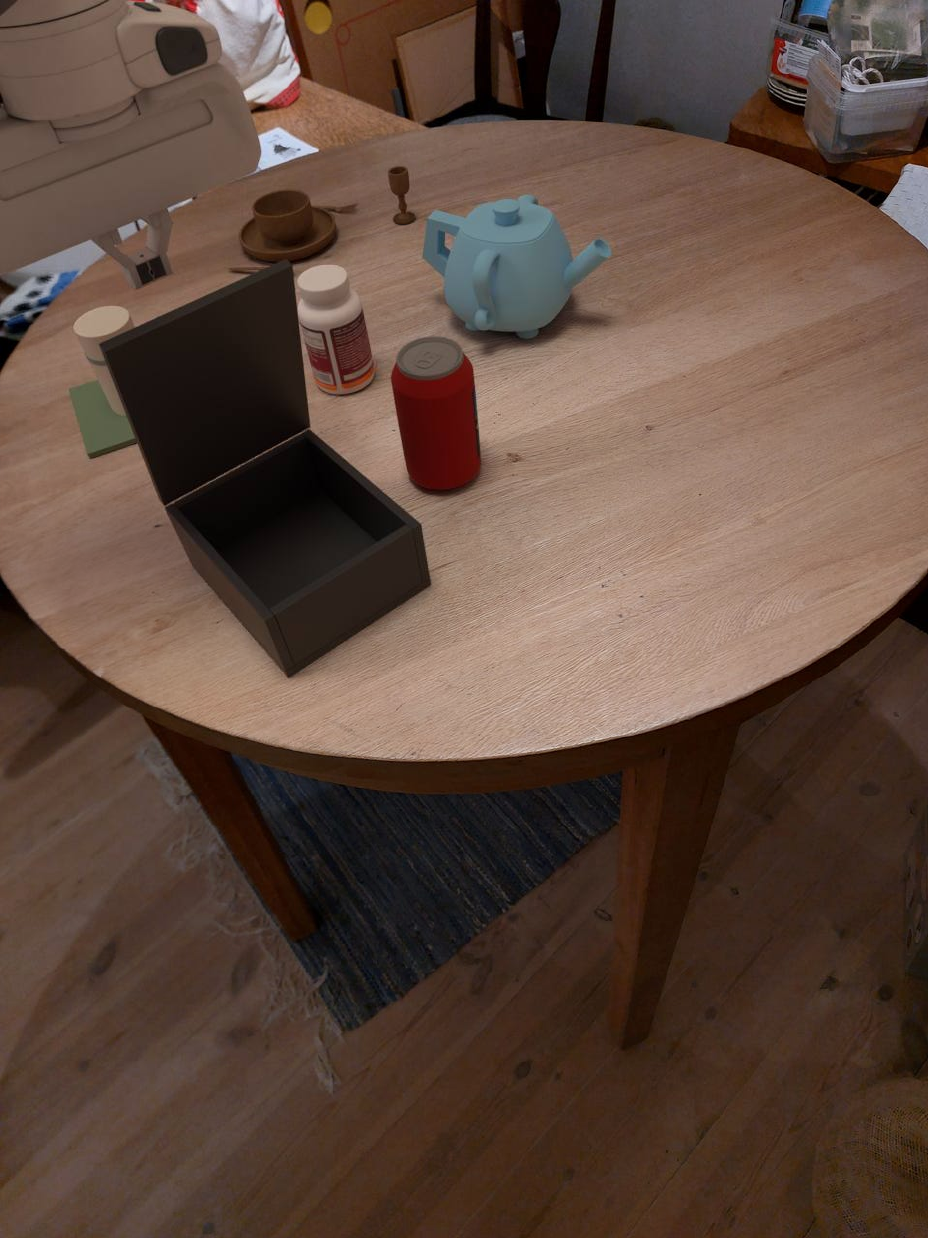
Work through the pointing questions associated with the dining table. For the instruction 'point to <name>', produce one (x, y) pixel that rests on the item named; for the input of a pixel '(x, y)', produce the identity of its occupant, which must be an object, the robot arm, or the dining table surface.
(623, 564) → the dining table surface
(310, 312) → the pill bottle
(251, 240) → the place setting
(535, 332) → the teapot
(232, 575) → the black keepsake box
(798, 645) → the dining table surface
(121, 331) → the container
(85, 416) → the mat
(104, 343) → the dark hinged box lid
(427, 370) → the beverage can
